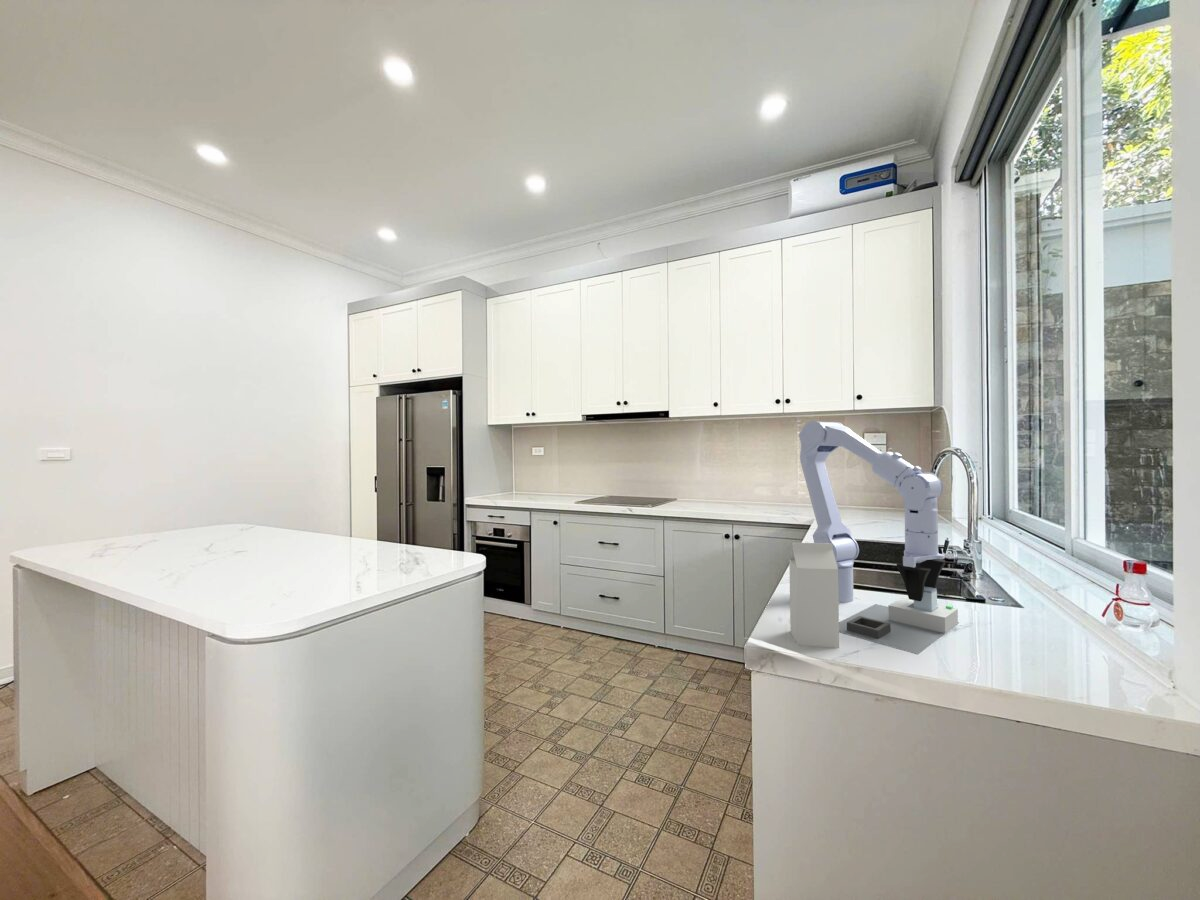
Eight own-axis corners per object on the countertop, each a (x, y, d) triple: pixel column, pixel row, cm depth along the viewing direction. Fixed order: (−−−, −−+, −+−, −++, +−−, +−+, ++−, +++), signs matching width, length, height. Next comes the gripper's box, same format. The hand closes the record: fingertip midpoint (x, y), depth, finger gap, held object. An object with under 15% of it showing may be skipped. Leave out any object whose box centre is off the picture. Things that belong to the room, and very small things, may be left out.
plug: (914, 621, 98) (913, 588, 98) (919, 618, 100) (918, 585, 100) (932, 626, 96) (931, 591, 96) (937, 622, 98) (936, 588, 98)
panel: (826, 632, 95) (825, 611, 95) (875, 607, 110) (875, 588, 110) (917, 658, 82) (917, 634, 82) (959, 626, 97) (959, 605, 97)
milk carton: (839, 652, 86) (837, 547, 86) (797, 649, 87) (796, 546, 87) (828, 637, 92) (827, 540, 93) (790, 634, 94) (788, 539, 94)
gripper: (931, 537, 91) (932, 608, 91) (955, 529, 100) (955, 593, 100) (891, 533, 96) (891, 599, 96) (916, 525, 105) (917, 586, 105)
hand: (921, 596), depth 98 cm, fingers open, 7 cm apart
